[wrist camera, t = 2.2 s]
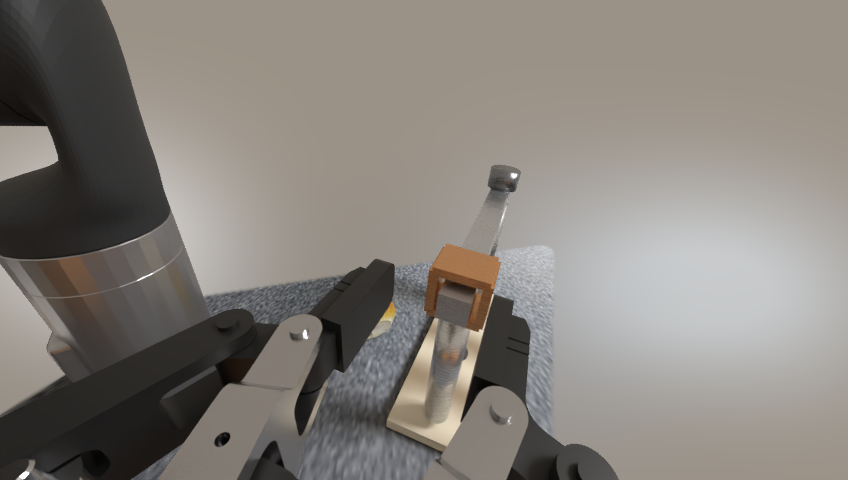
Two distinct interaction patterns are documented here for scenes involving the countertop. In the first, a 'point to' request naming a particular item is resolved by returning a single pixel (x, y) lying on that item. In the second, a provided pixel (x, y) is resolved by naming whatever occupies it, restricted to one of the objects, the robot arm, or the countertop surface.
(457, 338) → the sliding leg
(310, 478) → the countertop surface
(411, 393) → the plate
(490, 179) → the metal gantry frame
